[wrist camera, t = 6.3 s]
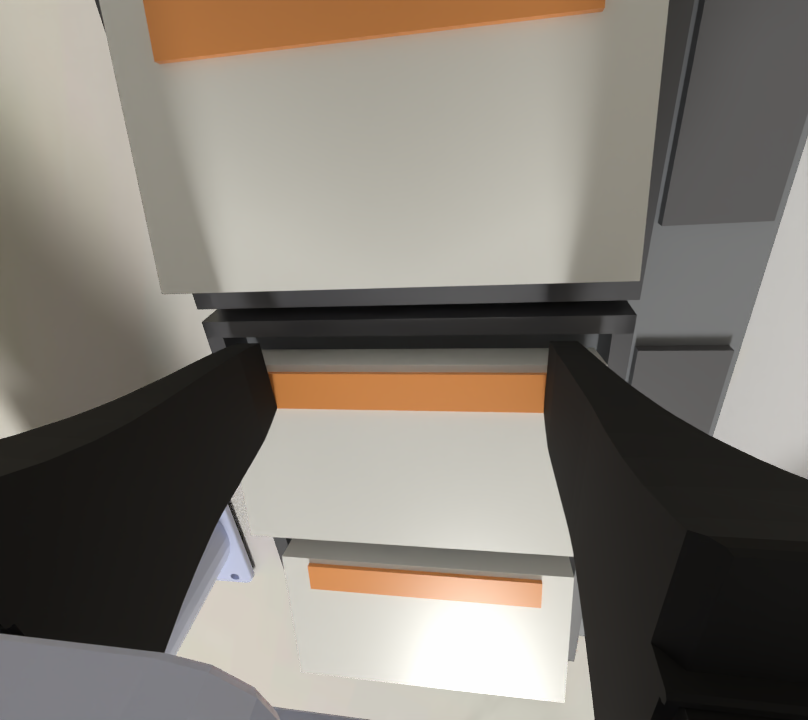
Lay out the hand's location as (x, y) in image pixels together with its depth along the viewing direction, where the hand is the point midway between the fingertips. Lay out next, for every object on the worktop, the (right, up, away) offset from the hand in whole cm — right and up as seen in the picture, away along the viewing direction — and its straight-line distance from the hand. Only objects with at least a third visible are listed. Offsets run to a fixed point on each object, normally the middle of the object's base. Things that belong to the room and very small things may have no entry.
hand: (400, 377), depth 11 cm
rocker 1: (0, +5, -2) cm, 5 cm away
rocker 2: (+1, -9, +6) cm, 11 cm away
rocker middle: (0, -2, +2) cm, 3 cm away
